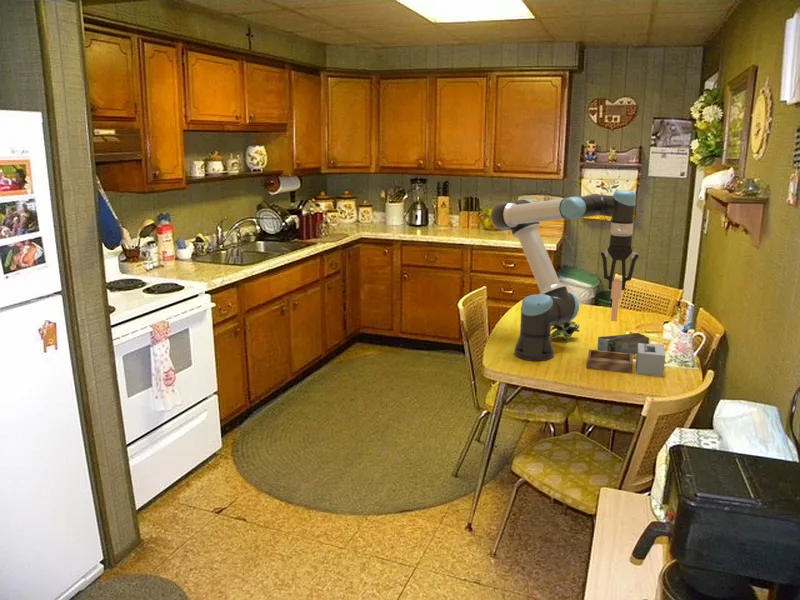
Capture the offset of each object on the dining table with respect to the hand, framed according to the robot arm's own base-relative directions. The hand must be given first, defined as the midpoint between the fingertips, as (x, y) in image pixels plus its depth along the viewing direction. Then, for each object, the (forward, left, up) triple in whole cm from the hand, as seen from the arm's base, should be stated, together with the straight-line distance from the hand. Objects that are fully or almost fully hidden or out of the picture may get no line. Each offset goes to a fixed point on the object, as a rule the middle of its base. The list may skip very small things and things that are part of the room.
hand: (615, 298), depth 237 cm
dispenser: (+14, 0, -26) cm, 30 cm away
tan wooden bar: (0, 0, -8) cm, 8 cm away
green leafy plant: (-19, +26, -26) cm, 42 cm away
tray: (0, 0, -26) cm, 26 cm away
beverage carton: (+5, +19, -27) cm, 33 cm away
